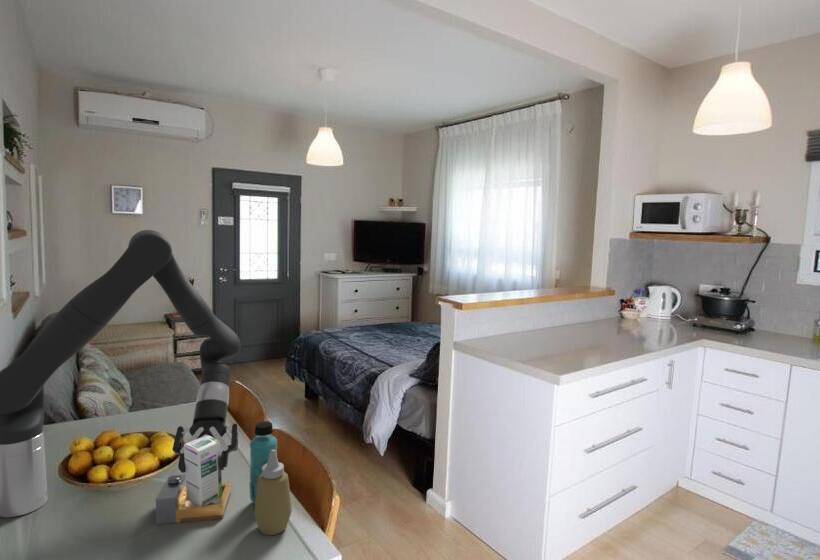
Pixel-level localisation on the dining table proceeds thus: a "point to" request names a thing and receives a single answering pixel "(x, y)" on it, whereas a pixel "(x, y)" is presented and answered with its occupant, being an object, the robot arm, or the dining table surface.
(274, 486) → the squeeze bottle
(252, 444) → the beverage bottle
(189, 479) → the syrup box
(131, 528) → the dining table surface
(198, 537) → the dining table surface
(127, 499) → the dining table surface
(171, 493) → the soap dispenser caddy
